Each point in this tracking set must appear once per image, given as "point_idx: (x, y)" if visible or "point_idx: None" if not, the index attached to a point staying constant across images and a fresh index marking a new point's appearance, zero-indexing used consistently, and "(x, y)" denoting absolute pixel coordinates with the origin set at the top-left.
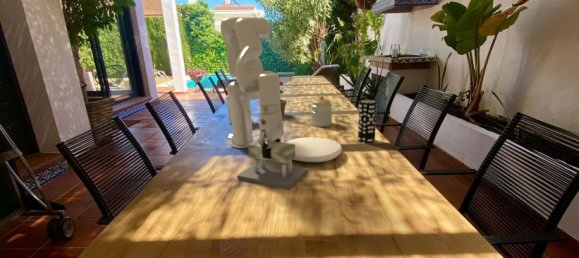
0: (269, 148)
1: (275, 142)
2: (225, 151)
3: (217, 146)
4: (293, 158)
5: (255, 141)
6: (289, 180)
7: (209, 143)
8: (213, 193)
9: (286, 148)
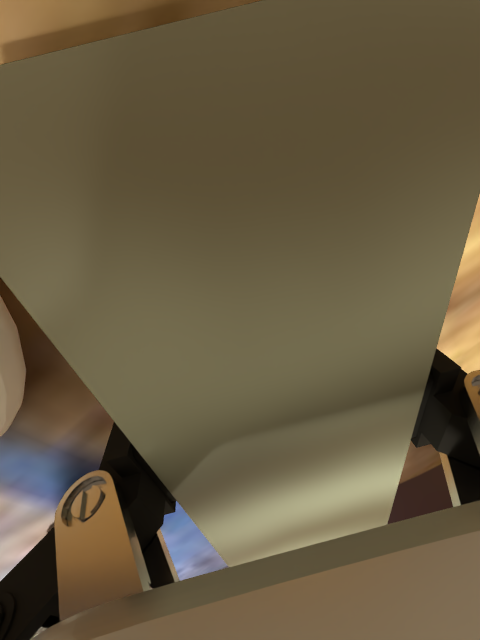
0: (451, 375)
1: (196, 471)
2: (188, 518)
3: (179, 545)
4: (1, 305)
5: (294, 549)
6: None
7: (181, 561)
8: (472, 333)
9: (363, 96)
